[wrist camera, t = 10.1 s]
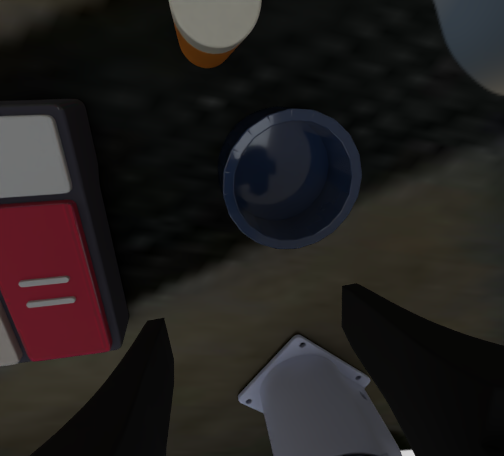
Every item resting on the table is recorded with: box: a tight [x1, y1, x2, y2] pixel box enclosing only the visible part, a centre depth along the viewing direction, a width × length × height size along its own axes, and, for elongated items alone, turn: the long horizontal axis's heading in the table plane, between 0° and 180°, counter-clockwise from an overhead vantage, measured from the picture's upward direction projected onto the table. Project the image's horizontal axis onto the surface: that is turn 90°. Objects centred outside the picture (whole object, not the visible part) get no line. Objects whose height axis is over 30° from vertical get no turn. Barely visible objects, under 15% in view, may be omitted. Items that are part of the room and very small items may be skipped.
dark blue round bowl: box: [218, 106, 362, 249], centre depth 20 cm, size 8×8×4 cm
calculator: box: [0, 99, 129, 366], centre depth 19 cm, size 11×4×15 cm
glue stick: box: [169, 0, 262, 68], centre depth 14 cm, size 3×3×8 cm
